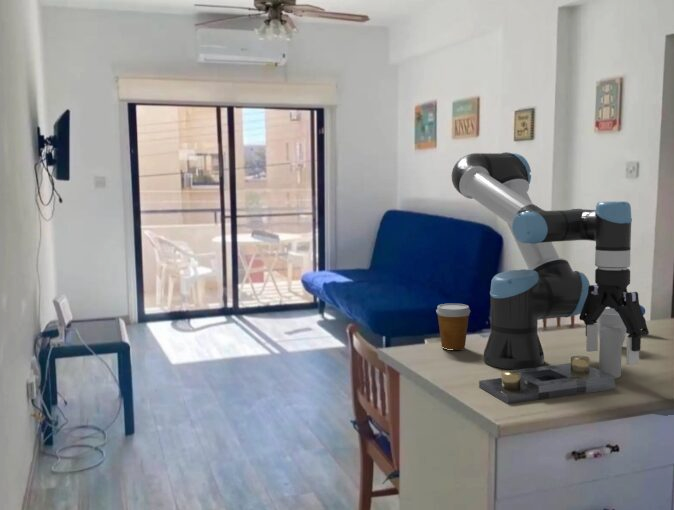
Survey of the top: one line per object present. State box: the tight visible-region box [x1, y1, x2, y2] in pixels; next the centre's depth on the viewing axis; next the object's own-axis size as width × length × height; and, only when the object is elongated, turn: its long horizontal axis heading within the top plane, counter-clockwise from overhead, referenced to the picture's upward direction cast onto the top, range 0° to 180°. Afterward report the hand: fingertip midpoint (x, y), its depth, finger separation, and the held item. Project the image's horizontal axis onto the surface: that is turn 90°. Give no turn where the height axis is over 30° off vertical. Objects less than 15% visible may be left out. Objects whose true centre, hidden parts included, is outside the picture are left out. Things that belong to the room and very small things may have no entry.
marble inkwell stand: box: [478, 355, 616, 405], centre depth 145 cm, size 12×27×6 cm, turn 107°
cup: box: [596, 308, 627, 346], centre depth 179 cm, size 8×8×10 cm
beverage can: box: [598, 325, 623, 380], centre depth 152 cm, size 5×5×12 cm
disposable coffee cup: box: [435, 303, 471, 351], centre depth 181 cm, size 10×10×12 cm
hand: (611, 357), depth 152 cm, fingers open, 13 cm apart
